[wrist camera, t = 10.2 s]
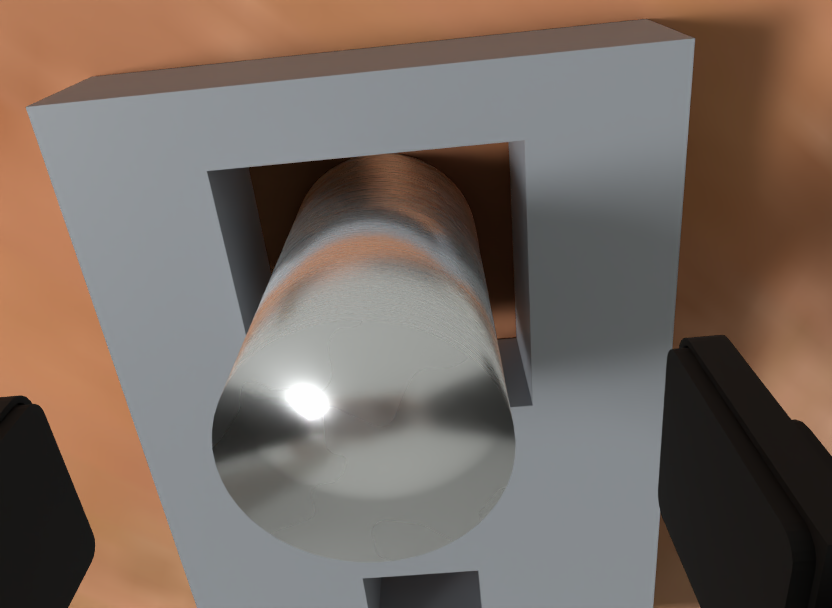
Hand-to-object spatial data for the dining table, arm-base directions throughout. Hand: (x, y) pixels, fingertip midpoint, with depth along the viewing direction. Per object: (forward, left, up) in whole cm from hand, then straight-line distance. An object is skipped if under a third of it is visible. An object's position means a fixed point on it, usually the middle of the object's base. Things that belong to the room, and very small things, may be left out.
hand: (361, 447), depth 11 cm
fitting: (0, 0, -8) cm, 8 cm away
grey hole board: (-4, 0, -8) cm, 9 cm away
